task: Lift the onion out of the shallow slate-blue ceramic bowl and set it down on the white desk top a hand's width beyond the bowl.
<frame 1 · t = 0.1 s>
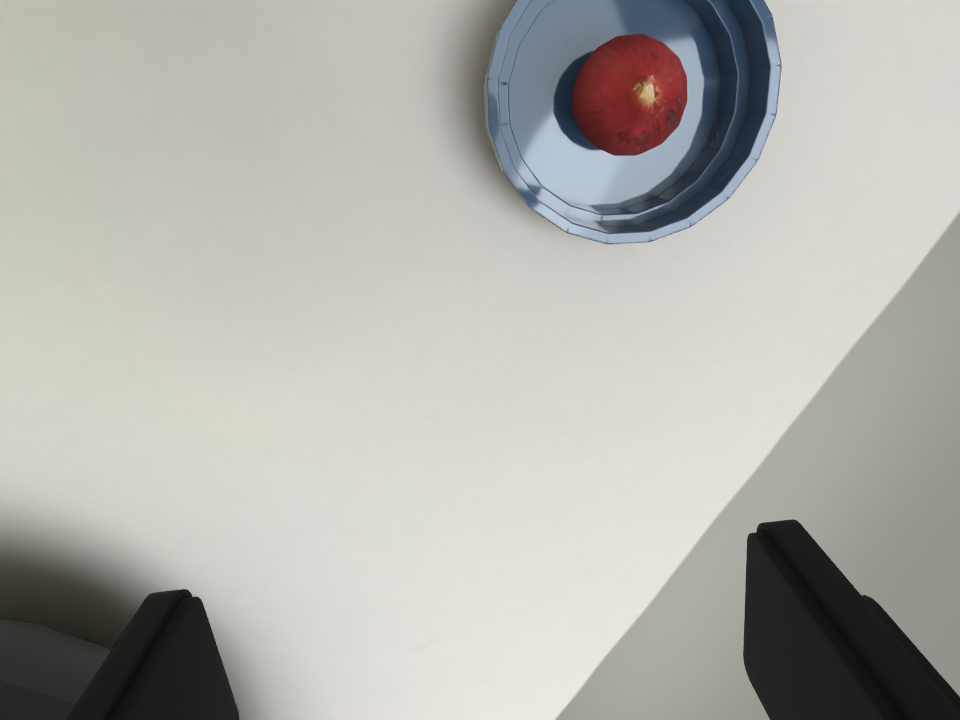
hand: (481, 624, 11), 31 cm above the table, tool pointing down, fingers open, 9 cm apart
bowl: (612, 100, 37), on the table
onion: (612, 100, 37), resting on bowl
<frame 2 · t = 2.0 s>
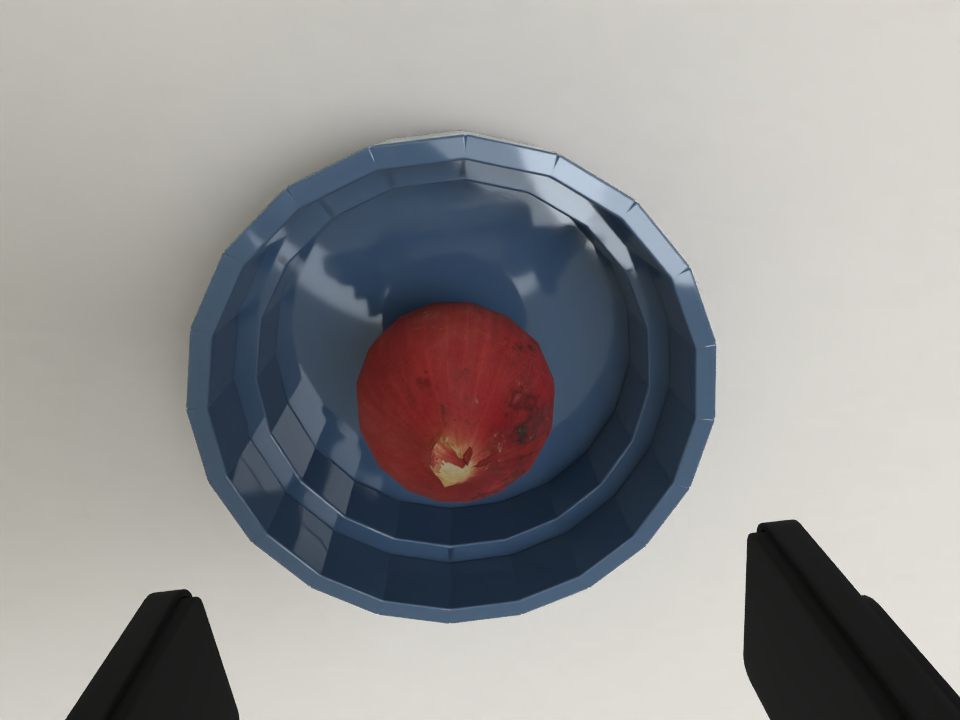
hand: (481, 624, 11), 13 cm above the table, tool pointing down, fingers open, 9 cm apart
bowl: (455, 353, 23), on the table
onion: (455, 354, 23), resting on bowl
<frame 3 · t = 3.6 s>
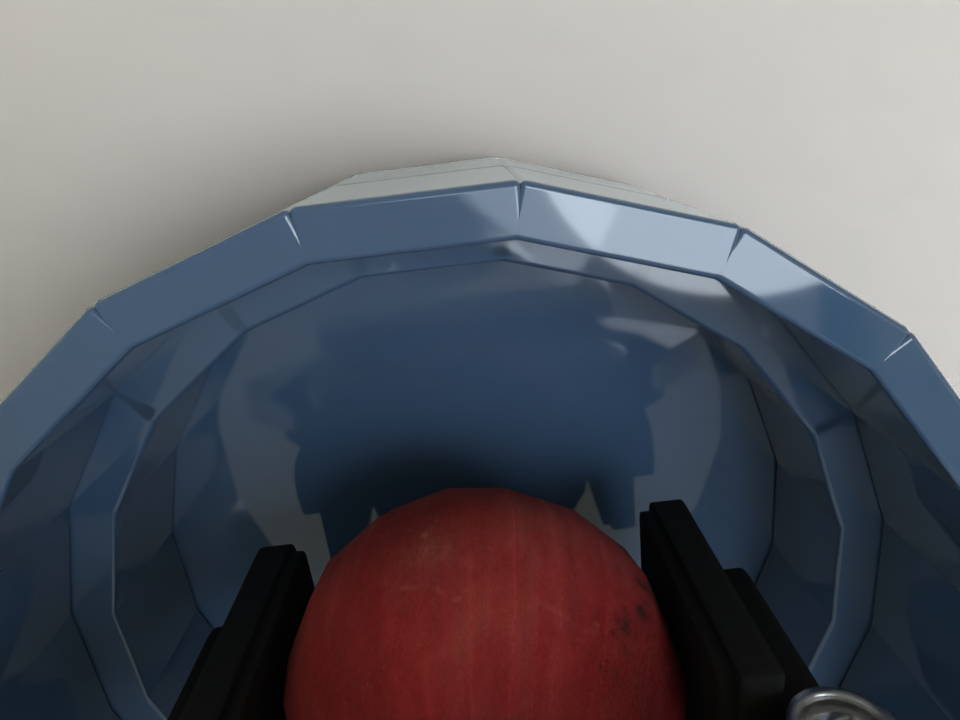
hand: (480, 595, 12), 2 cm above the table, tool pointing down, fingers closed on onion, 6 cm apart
bowl: (477, 527, 14), on the table
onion: (477, 530, 14), resting on bowl, touching gripper
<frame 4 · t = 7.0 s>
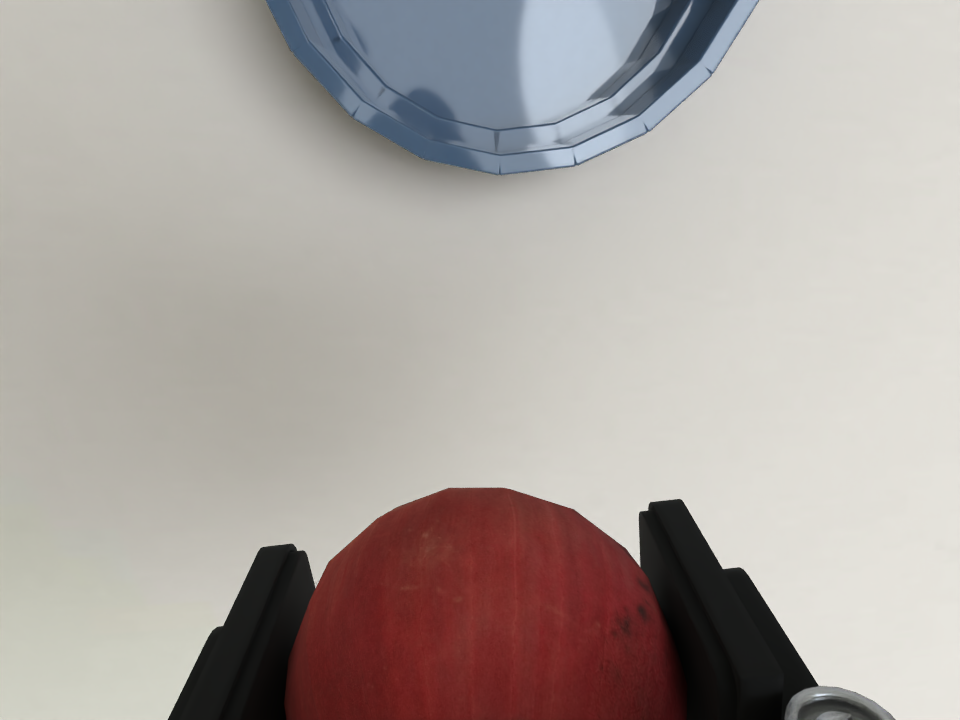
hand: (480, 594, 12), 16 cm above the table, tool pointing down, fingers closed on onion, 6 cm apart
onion: (478, 530, 14), point 14 cm above the table, touching gripper
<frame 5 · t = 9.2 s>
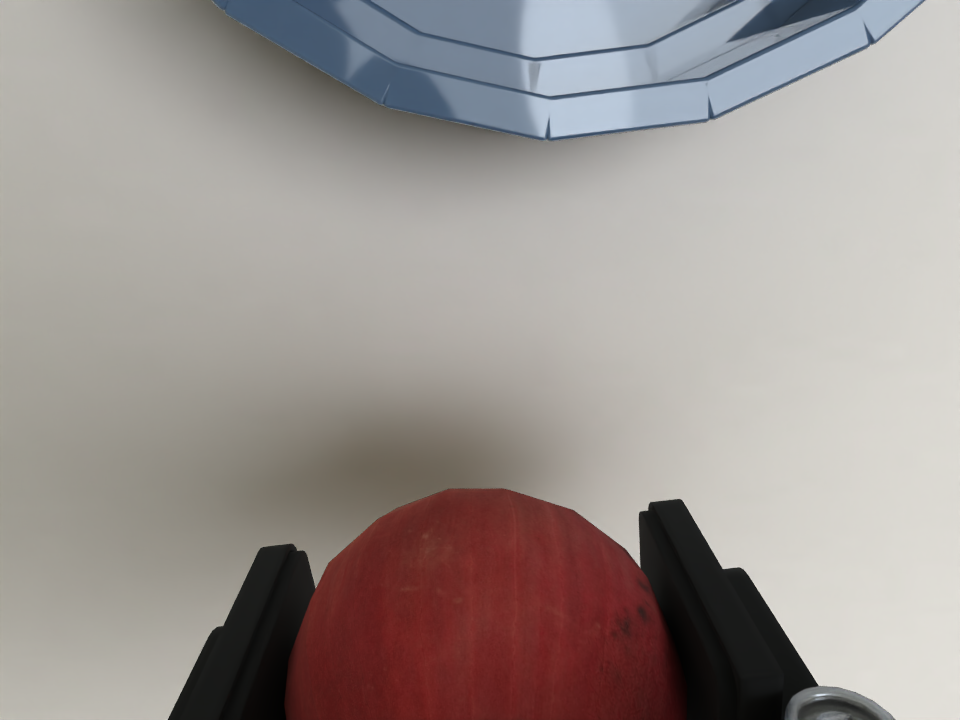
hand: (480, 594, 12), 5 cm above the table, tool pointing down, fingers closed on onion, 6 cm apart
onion: (478, 530, 14), point 3 cm above the table, touching gripper
when the fingers open (2 cm above the table, at t = 10.5 s): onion stays where it is, on the table.
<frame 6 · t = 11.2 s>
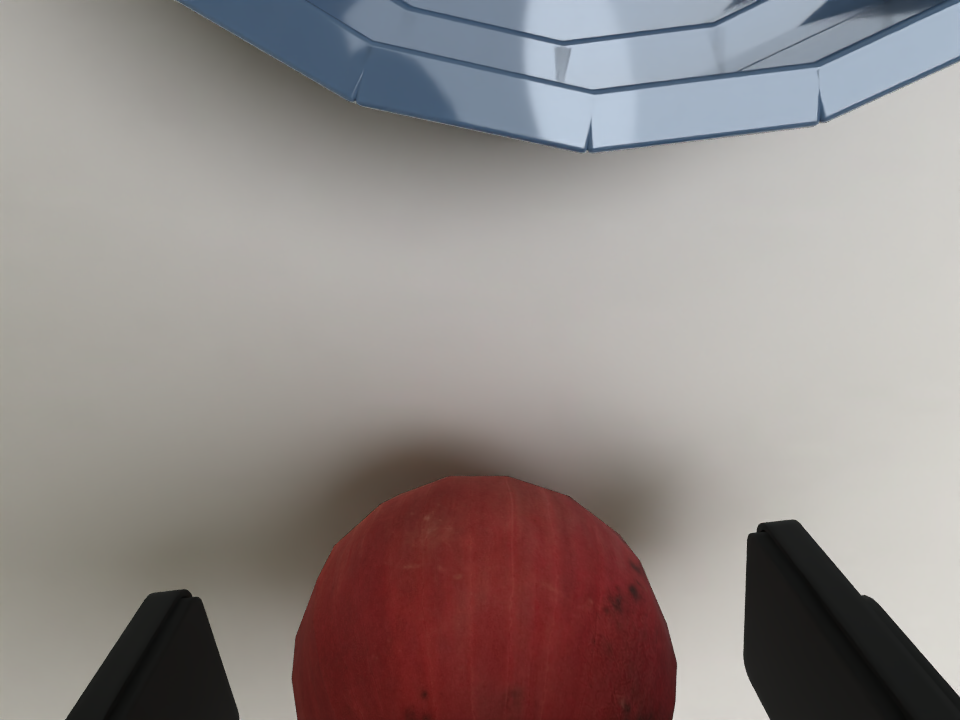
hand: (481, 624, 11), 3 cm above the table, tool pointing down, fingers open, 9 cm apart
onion: (477, 519, 14), on the table
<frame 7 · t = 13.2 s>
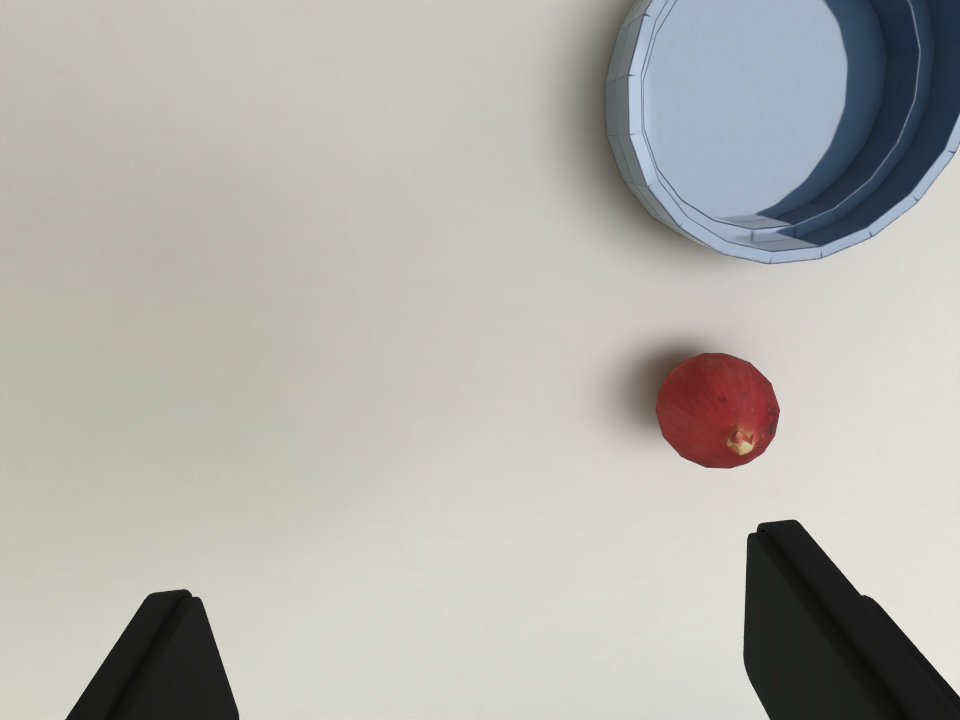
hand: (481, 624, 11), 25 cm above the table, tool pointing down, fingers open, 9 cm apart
bowl: (755, 93, 32), on the table
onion: (690, 382, 37), on the table
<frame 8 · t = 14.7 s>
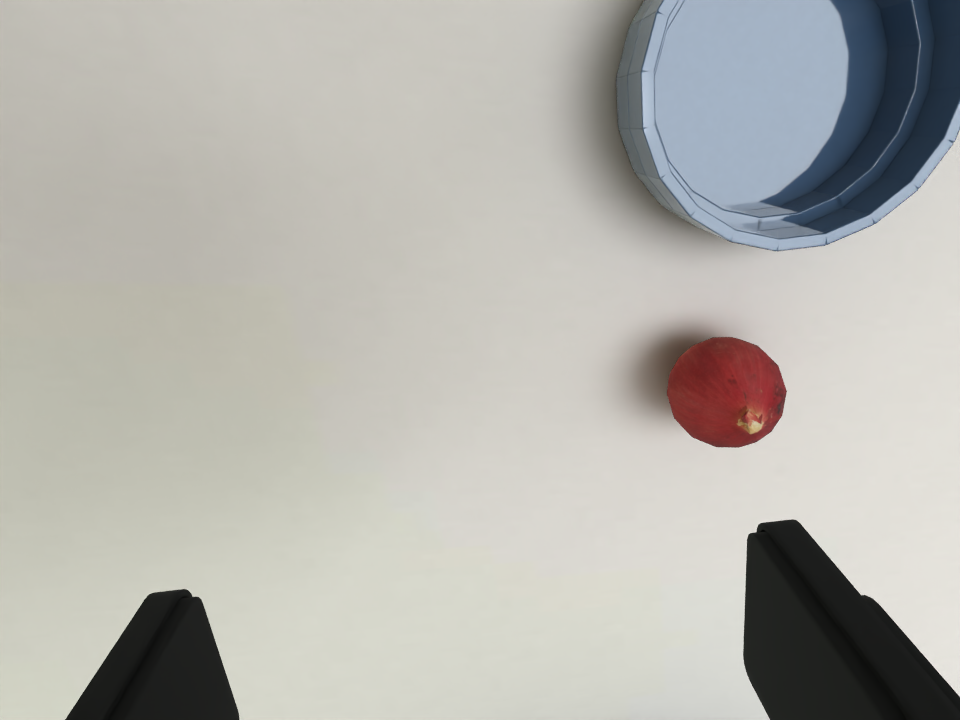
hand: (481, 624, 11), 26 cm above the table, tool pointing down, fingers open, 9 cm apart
bowl: (761, 85, 33), on the table
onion: (699, 366, 38), on the table
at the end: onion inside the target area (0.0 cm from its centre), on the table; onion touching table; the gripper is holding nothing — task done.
